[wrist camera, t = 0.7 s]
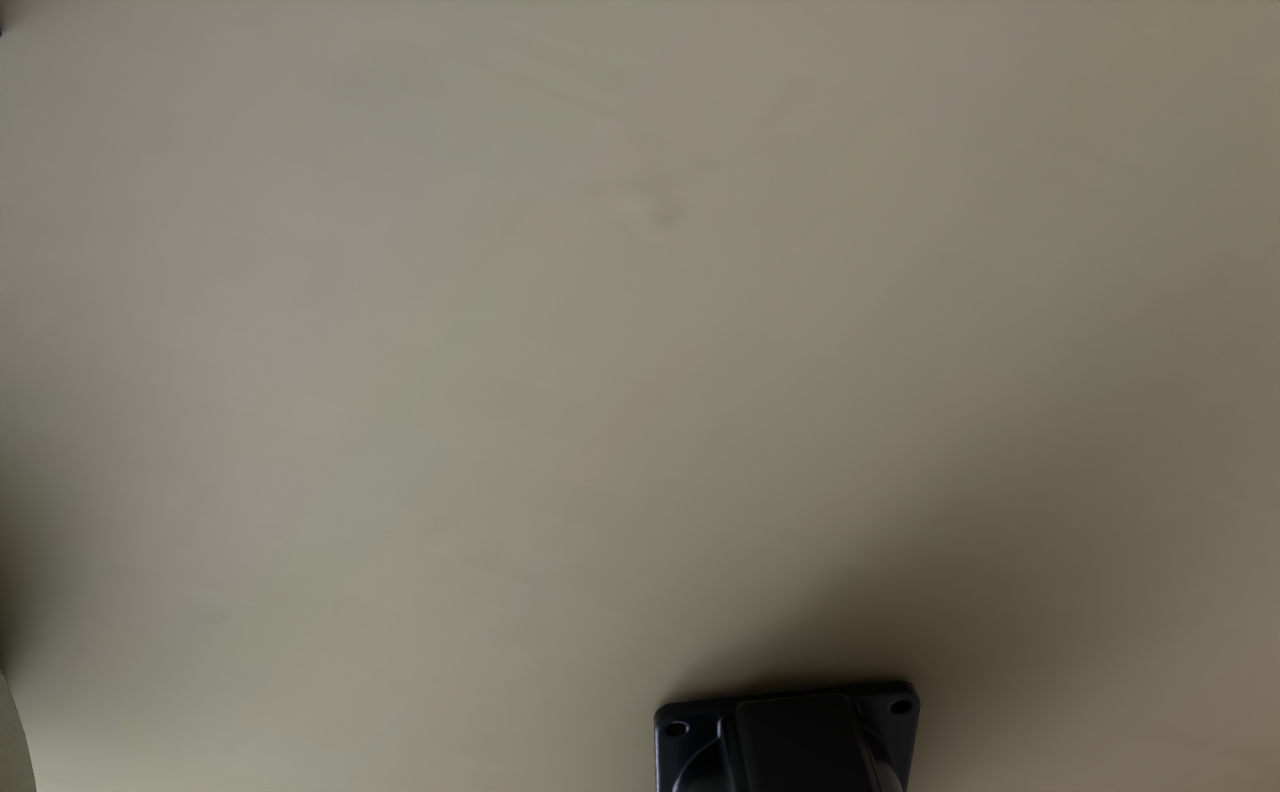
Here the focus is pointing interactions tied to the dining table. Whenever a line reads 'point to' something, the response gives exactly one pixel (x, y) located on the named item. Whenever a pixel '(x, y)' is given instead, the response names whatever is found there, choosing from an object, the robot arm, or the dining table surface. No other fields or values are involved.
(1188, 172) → the dining table surface
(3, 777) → the flower pot
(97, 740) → the dining table surface
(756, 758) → the robot arm
